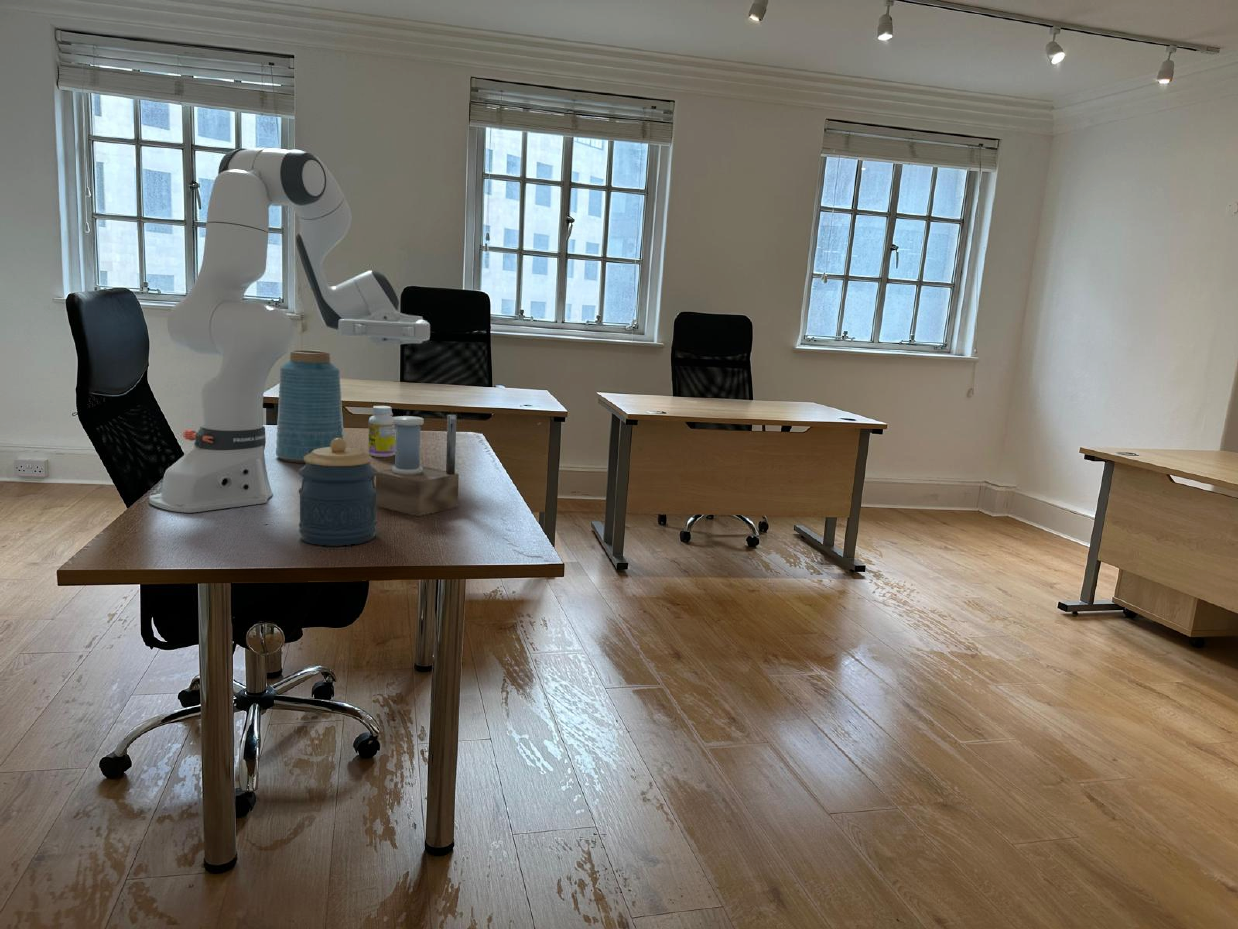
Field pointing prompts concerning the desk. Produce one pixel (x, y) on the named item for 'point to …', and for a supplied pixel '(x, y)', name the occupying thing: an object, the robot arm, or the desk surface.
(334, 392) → the vase
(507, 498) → the desk surface
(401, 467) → the cord spool
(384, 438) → the supplement bottle
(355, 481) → the canister
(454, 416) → the hook post
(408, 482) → the walnut shelf block
